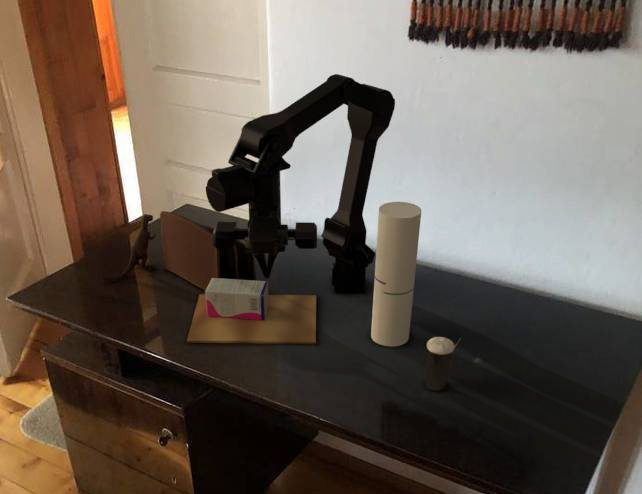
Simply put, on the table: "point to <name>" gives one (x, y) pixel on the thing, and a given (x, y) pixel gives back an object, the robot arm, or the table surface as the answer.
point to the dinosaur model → (139, 249)
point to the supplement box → (237, 299)
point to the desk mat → (259, 323)
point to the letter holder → (201, 253)
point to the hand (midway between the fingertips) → (266, 277)
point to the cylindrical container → (395, 272)
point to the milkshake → (438, 362)
